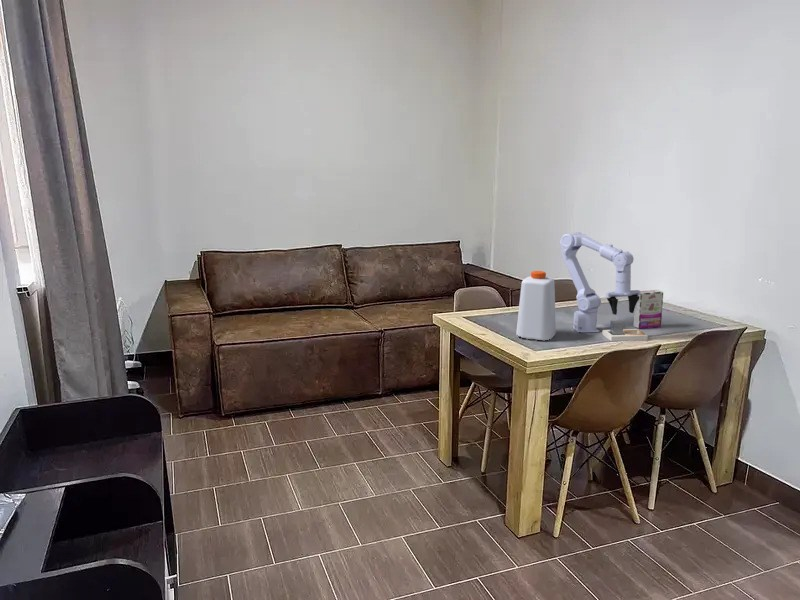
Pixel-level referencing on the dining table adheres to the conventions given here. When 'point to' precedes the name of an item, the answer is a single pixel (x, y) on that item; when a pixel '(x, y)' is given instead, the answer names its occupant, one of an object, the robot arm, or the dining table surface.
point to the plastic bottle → (537, 307)
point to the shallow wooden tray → (626, 335)
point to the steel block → (616, 327)
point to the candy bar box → (648, 309)
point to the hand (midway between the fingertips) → (623, 313)
